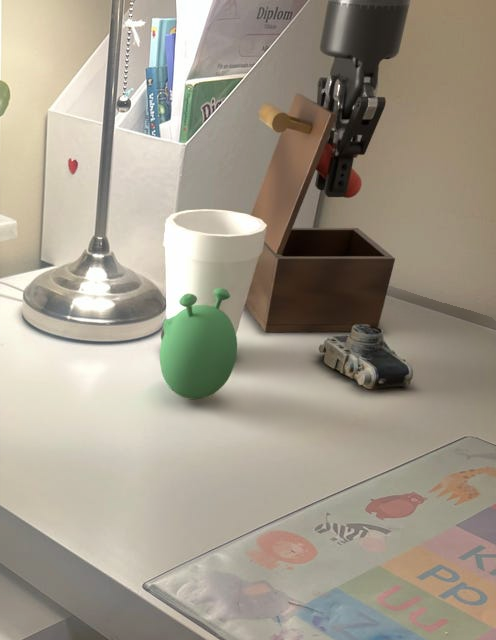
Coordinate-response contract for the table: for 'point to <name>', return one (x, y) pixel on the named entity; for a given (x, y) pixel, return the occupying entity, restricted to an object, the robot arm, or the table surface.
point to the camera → (366, 358)
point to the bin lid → (290, 165)
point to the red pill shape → (323, 167)
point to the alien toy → (198, 348)
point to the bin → (320, 282)
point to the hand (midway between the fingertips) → (329, 191)
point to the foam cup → (211, 258)
